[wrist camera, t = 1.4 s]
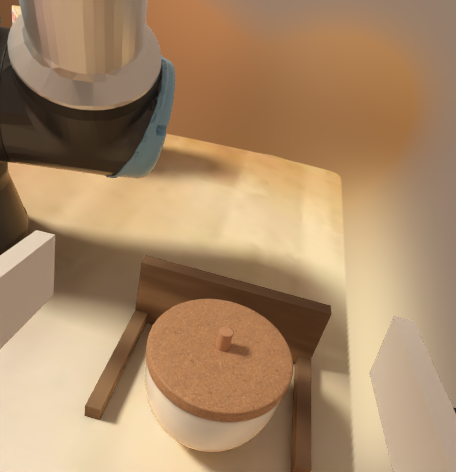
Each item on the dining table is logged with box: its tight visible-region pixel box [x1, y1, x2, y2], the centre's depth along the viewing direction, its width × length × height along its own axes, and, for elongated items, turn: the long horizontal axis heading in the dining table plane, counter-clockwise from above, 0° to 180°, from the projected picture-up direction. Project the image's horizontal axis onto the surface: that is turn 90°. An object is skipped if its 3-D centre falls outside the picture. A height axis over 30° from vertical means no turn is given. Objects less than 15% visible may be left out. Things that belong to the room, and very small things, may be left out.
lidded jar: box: [145, 299, 293, 452], centre depth 33 cm, size 11×11×9 cm
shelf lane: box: [85, 256, 331, 472], centre depth 36 cm, size 12×17×7 cm
